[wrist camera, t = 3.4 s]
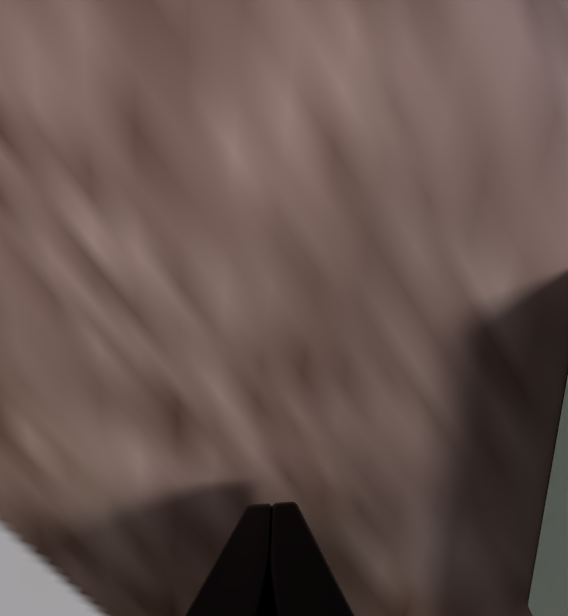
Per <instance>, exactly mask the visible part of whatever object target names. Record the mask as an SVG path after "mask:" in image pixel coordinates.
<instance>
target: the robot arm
mask: <svg viewBox="0 0 568 616" xmlns="http://www.w3.org/2000/svg"><path fill="white" fill-rule="evenodd" d="M185 616H354V614H353V612H352V610H351V609H350V607H349V605H348V603H347V601H346V599H345V597H344V595H343V593H342V591H341V589H340V587H339V585H338V583H337V581H336V579H335V577H334V575H333V573H332V572H331V570H330V568H329V566H328V564H327V562H326V560H325V558H324V556H323V554H322V552H321V550H320V548H319V546H318V544H317V542H316V540H315V538H314V536H313V534H312V533H311V531H310V529H309V527H308V525H307V523H306V521H305V519H304V517H303V515H302V513H301V511H300V509H299V507H298V505H297V504H296V503H295V502H283V503H275V504H273V506H271V505H270V504H254V505H249V506H248V507H247V508H246V509H245V511H244V513H243V514H242V516H241V518H240V520H239V522H238V523H237V525H236V527H235V529H234V530H233V532H232V534H231V536H230V537H229V539H228V541H227V543H226V544H225V546H224V548H223V550H222V551H221V553H220V555H219V557H218V558H217V560H216V562H215V564H214V565H213V567H212V569H211V571H210V572H209V574H208V576H207V578H206V579H205V581H204V583H203V585H202V586H201V588H200V590H199V592H198V594H197V595H196V597H195V599H194V601H193V602H192V604H191V606H190V608H189V609H188V611H187V613H186V615H185Z"/></svg>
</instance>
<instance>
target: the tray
mask: <svg viewBox="0 0 568 616" xmlns="http://www.w3.org/2000/svg"><path fill="white" fill-rule="evenodd" d="M528 607H529V609H530V612H531V614H532V616H568V377H567V383H566V388H565V394H564V400H563V406H562V411H561V417H560V423H559V429H558V434H557V440H556V446H555V452H554V457H553V463H552V469H551V475H550V480H549V486H548V492H547V498H546V503H545V509H544V515H543V521H542V526H541V532H540V538H539V544H538V549H537V555H536V561H535V567H534V572H533V578H532V584H531V590H530V595H529V601H528Z"/></svg>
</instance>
